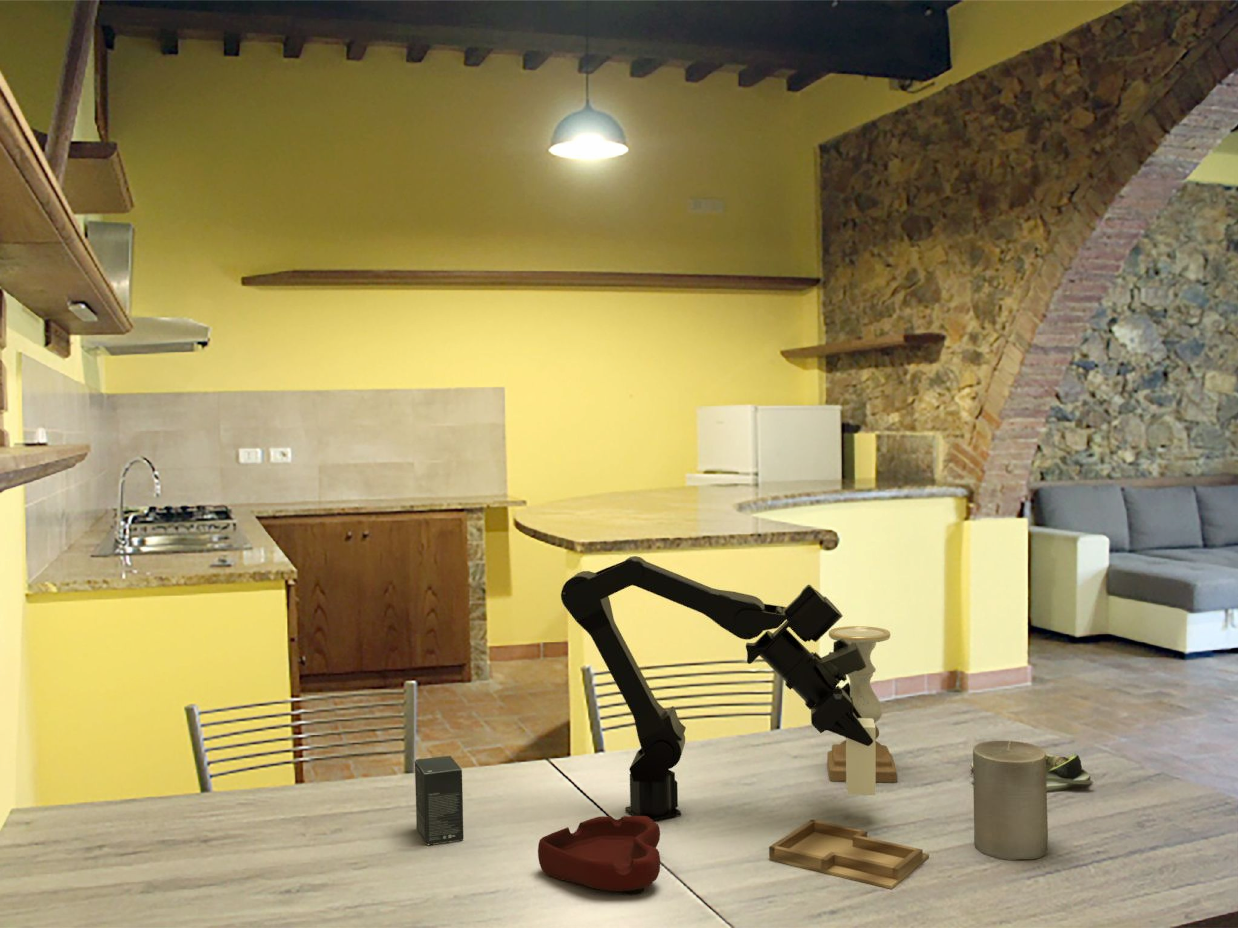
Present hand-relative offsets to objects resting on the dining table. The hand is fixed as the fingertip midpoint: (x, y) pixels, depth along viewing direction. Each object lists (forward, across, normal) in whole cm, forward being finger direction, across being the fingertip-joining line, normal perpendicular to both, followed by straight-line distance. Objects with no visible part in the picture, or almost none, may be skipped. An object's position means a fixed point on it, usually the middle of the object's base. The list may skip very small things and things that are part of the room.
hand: (869, 738), depth 170 cm
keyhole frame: (+6, -15, +11) cm, 20 cm away
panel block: (+4, 0, +6) cm, 8 cm away
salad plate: (+29, +23, -11) cm, 38 cm away
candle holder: (+9, +23, +9) cm, 26 cm away
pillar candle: (+22, -9, -4) cm, 24 cm away
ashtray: (-17, -23, +35) cm, 45 cm away
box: (-35, -11, +54) cm, 65 cm away
